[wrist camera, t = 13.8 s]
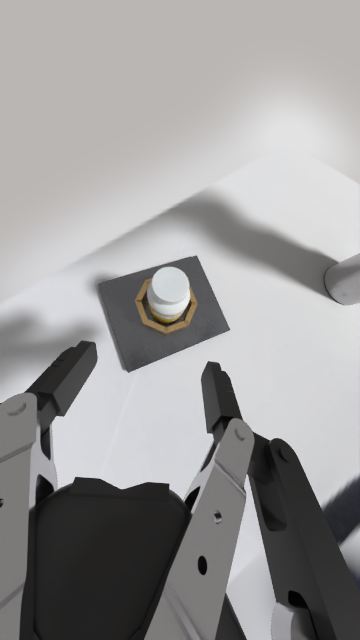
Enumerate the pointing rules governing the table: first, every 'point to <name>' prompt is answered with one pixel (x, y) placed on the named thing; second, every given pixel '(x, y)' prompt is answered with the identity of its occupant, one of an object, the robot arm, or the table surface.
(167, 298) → the supplement bottle
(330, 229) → the table surface
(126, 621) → the robot arm
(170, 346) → the collar plate
